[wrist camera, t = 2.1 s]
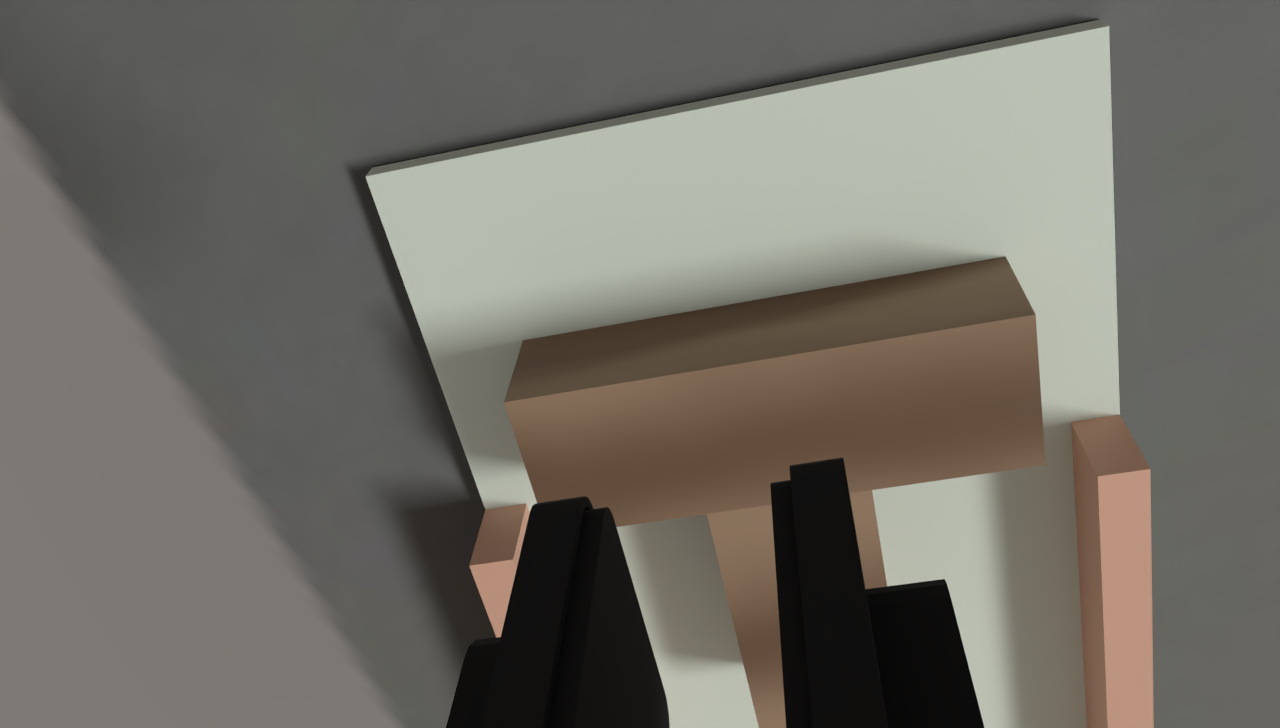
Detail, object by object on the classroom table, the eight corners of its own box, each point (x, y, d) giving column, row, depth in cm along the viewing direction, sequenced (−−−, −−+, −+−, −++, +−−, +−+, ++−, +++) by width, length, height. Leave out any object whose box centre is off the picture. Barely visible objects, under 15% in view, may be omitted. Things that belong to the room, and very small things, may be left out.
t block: (522, 340, 29) (503, 402, 27) (1005, 256, 27) (1035, 314, 25) (629, 680, 35) (621, 758, 32) (1034, 630, 33) (1061, 709, 30)
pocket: (485, 509, 32) (469, 565, 30) (1119, 414, 29) (1150, 469, 27) (626, 902, 40) (621, 967, 38) (1132, 856, 38) (1155, 924, 36)
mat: (372, 167, 28) (364, 176, 27) (1100, 19, 25) (1109, 26, 25) (631, 897, 41) (630, 913, 41) (1126, 852, 38) (1132, 868, 38)
